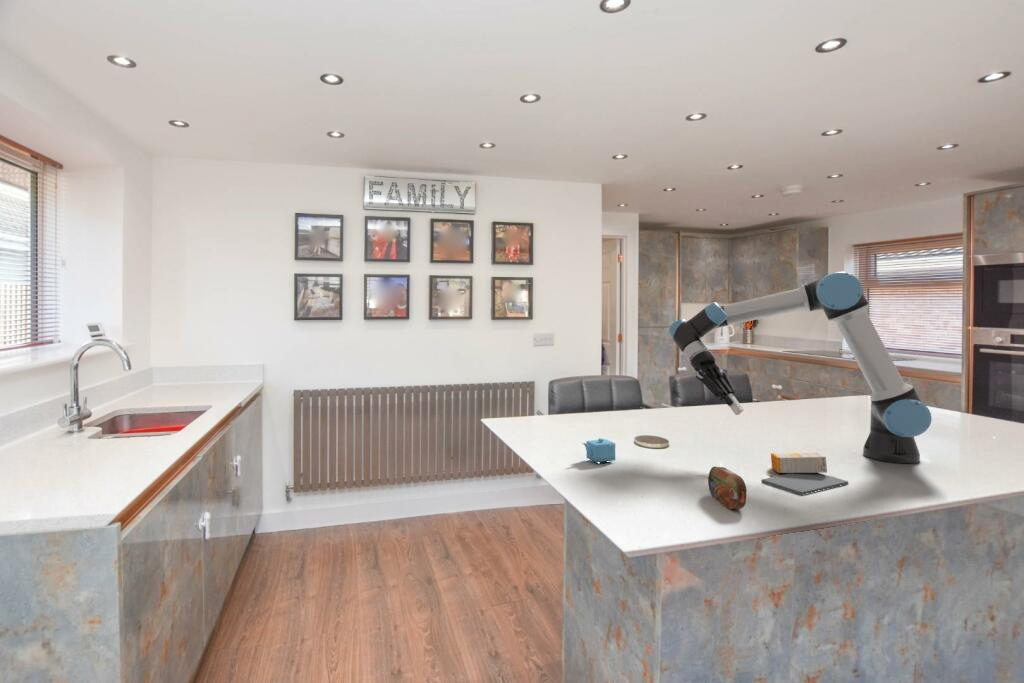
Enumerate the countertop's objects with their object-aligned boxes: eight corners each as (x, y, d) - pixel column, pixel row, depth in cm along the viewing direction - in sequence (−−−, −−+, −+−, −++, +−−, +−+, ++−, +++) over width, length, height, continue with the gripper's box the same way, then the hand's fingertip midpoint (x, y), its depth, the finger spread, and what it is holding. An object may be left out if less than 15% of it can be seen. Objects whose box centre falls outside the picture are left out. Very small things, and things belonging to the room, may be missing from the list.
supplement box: (778, 473, 152) (827, 473, 149) (776, 457, 153) (826, 456, 149) (771, 468, 160) (818, 468, 157) (770, 452, 161) (817, 452, 157)
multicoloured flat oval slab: (706, 493, 138) (707, 462, 138) (718, 493, 138) (718, 461, 138) (735, 515, 123) (736, 480, 123) (748, 514, 123) (749, 479, 123)
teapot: (586, 466, 163) (586, 442, 162) (577, 461, 169) (577, 438, 168) (619, 462, 167) (619, 439, 167) (609, 457, 173) (609, 435, 172)
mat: (807, 472, 156) (807, 469, 155) (848, 484, 145) (848, 481, 145) (761, 482, 147) (761, 479, 147) (801, 495, 136) (801, 492, 136)
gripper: (707, 363, 184) (746, 417, 170) (679, 365, 178) (718, 421, 164) (719, 348, 179) (761, 403, 165) (691, 350, 173) (732, 407, 159)
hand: (739, 412), depth 165 cm, fingers closed
